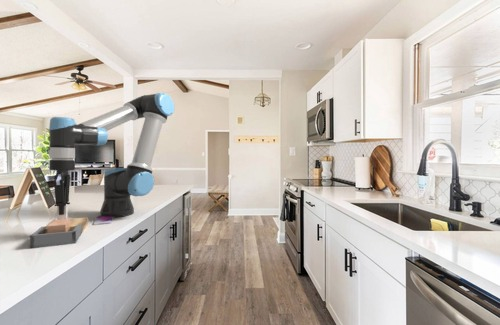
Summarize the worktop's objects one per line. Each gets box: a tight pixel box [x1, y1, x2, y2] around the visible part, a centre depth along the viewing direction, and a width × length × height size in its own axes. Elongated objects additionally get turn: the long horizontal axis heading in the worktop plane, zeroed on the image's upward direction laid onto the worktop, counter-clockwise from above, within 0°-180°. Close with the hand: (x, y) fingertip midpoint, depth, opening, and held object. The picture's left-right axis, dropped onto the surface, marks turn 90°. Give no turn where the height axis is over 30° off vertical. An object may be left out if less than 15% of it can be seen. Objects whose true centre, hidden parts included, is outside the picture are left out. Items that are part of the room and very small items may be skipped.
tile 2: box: [52, 218, 72, 230], centre depth 89 cm, size 5×5×3 cm
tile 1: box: [46, 222, 68, 233], centre depth 85 cm, size 5×5×3 cm
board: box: [44, 216, 89, 234], centre depth 97 cm, size 12×14×3 cm
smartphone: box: [92, 216, 114, 226], centre depth 113 cm, size 7×1×15 cm
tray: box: [29, 223, 83, 249], centre depth 86 cm, size 12×11×4 cm
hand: (62, 222), depth 92 cm, fingers closed
